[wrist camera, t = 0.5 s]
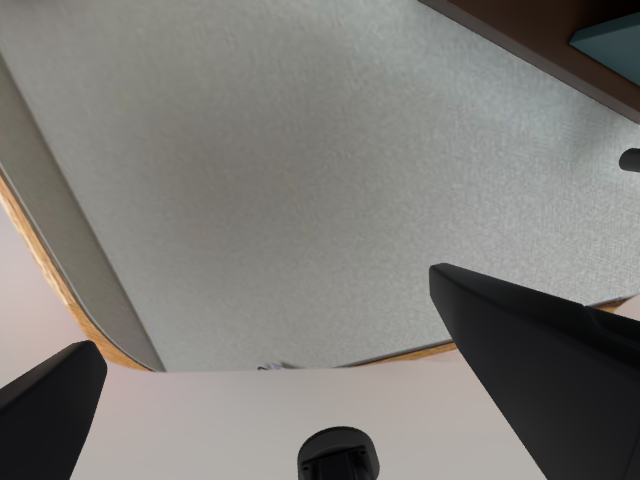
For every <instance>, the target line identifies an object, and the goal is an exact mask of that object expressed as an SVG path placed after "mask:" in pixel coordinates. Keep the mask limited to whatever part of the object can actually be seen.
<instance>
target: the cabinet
mask: <svg viewBox="0 0 640 480" xmlns="http://www.w3.org/2000/svg"><path fill="white" fill-rule="evenodd" d="M419 1H421V2H422V3H424V4H426V5H428V6H430V7H431V8H433V9H435V10H437V11H438V12H440V13H442V14H444V15H446V16H447V17H449V18H451V19H453V20H454V21H456V22H458V23H460V24H462V25H463V26H465V27H467V28H469V29H470V30H472V31H474V32H476V33H478V34H479V35H481V36H483V37H485V38H486V39H488V40H490V41H492V42H493V43H495V44H497V45H499V46H501V47H502V48H504V49H506V50H508V51H509V52H511V53H513V54H515V55H517V56H518V57H520V58H522V59H524V60H525V61H527V62H529V63H531V64H533V65H534V66H536V67H538V68H540V69H541V70H543V71H545V72H547V73H549V74H550V75H552V76H554V77H556V78H557V79H559V80H561V81H563V82H564V83H566V84H568V85H570V86H572V87H573V88H575V89H577V90H579V91H580V92H582V93H584V94H586V95H588V96H589V97H591V98H593V99H595V100H596V101H598V102H600V103H602V104H604V105H605V106H607V107H609V108H611V109H612V110H614V111H616V112H618V113H620V114H621V115H623V116H625V117H627V118H628V119H630V120H632V121H634V122H635V123H637V124H639V125H640V86H638V85H637V84H635V83H633V82H632V81H630V80H628V79H627V78H625V77H624V76H622V75H620V74H619V73H617V72H615V71H614V70H612V69H610V68H609V67H607V66H605V65H604V64H602V63H600V62H599V61H597V60H595V59H594V58H592V57H590V56H589V55H587V54H585V53H584V52H582V51H580V50H579V49H577V48H575V47H574V46H572V45H570V44H569V43H570V41H571V39H572V37H573V35H574V34H575V32H576V31H577V30H580V29H584V28H587V27H590V26H594V25H597V24H600V23H604V22H607V21H610V20H614V19H617V18H620V17H624V16H627V15H630V14H633V13H637V12H640V0H419Z"/></svg>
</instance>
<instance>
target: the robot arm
mask: <svg viewBox="0 0 640 480" xmlns="http://www.w3.org/2000/svg"><path fill="white" fill-rule="evenodd" d="M429 286H430V296H431V299H432V301H433V303H434V305H435V307H436V309H437V311H438V312H439V314H440V316H441V318H442V320H443V322H444V324H445V326H446V328H447V330H448V331H449V333H450V335H451V337H452V339H453V341H454V343H455V344H456V346H457V348H458V349H459V351H460V352H461V354H462V355H463V357H464V358H465V360H466V361H467V363H468V364H469V366H470V367H471V368H472V370H473V372H474V373H475V374H476V376H477V377H478V379H479V380H480V382H481V383H482V385H483V386H484V387H485V389H486V391H487V392H488V393H489V395H490V396H491V398H492V399H493V401H494V402H495V404H496V405H497V407H498V408H499V410H500V411H501V412H502V414H503V415H504V417H505V418H506V420H507V421H508V423H509V424H510V426H511V427H512V429H513V430H514V432H515V433H516V434H517V436H518V437H519V439H520V440H521V442H522V443H523V445H524V446H525V448H526V449H527V450H528V452H529V453H530V455H531V456H532V458H533V459H534V461H535V462H536V464H537V465H538V467H539V468H540V470H541V471H542V473H543V474H544V475H545V477H546V478H547V480H640V321H637V320H634V319H630V318H627V317H623V316H620V315H616V314H613V313H610V312H606V311H603V310H600V309H596V308H593V307H590V306H585V307H584V306H583V305H582V304H580V303H576V302H573V301H570V300H566V299H563V298H560V297H557V296H553V295H550V294H547V293H543V292H540V291H537V290H533V289H530V288H527V287H524V286H520V285H517V284H514V283H510V282H507V281H504V280H500V279H497V278H494V277H491V276H487V275H484V274H481V273H477V272H474V271H471V270H467V269H464V268H461V267H458V266H454V265H451V264H448V263H440V264H436V265H432V266H431V267H430V268H429ZM106 375H107V364H106V362H105V360H104V358H103V356H102V355H101V353H100V351H99V350H98V348H97V346H96V344H95V343H94V342H93V341H90V340H86V341H81V342H77V343H73V344H71V345H69V346H68V347H66V348H65V349H63V350H61V351H60V352H58V353H57V354H55V355H53V356H52V357H51V358H49V359H47V360H45V361H44V362H42V363H41V364H39V365H37V366H36V367H34V368H33V369H31V370H30V371H28V372H26V373H25V374H23V375H22V376H20V377H18V378H17V379H15V380H14V381H12V382H10V383H9V384H7V385H6V386H4V387H3V388H1V389H0V480H70V477H71V475H72V472H73V470H74V467H75V465H76V463H77V460H78V458H79V455H80V453H81V450H82V448H83V445H84V443H85V441H86V438H87V435H88V433H89V430H90V427H91V424H92V421H93V418H94V414H95V411H96V408H97V404H98V401H99V398H100V394H101V391H102V388H103V385H104V381H105V378H106ZM300 465H301V472H302V474H303V477H304V480H375V477H374V474H373V470H372V466H371V462H370V458H369V454H368V450H367V447H366V446H365V445H359V446H356V447H352V448H348V449H345V450H341V451H338V452H334V453H330V454H327V455H323V456H320V457H316V458H312V459H309V460H305V461H303V462H301V464H300Z"/></svg>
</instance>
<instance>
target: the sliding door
mask: <svg viewBox="0 0 640 480" xmlns="http://www.w3.org/2000/svg"><path fill="white" fill-rule="evenodd" d="M569 44H570V45H572V46H574V47H575V48H577V49H579V50H580V51H582V52H584V53H585V54H587V55H589V56H590V57H592V58H594V59H595V60H597V61H599V62H600V63H602V64H604V65H605V66H607V67H609V68H610V69H612V70H614V71H615V72H617V73H619V74H620V75H622V76H624V77H625V78H627V79H628V80H630V81H632V82H633V83H635V84H637V85H638V86H640V12H637V13H633V14H630V15H627V16H624V17H620V18H617V19H614V20H610V21H607V22H604V23H600V24H597V25H594V26H590V27H587V28H584V29H580V30H577V31H576V32H575V34H574V35H573V37H572V39H571V41H570V43H569ZM619 166H620V168H621V169H623V170H626V171H633V172H640V149H637V148H631V149H628V150H626V151H625V152H624V153H623V154H622V155H621V157H620V160H619Z"/></svg>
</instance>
